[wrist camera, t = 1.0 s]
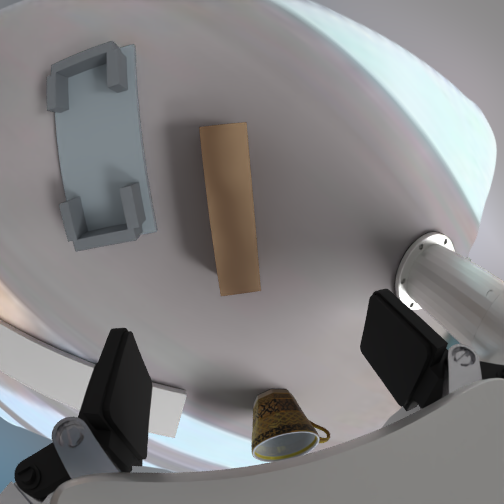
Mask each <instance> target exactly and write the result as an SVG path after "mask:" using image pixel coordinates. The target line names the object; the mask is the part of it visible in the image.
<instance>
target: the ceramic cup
mask: <svg viewBox="0 0 504 504" xmlns="http://www.w3.org/2000/svg"><path fill="white" fill-rule="evenodd" d="M314 427H315V428H317V429H320V430H322V431H324V432H325V433H326V434H327V438H321V437H319V435H318V433H317V431H316V430H315V428H314ZM329 438H330V433H329V431H328V430H326V429H325V428H323V427H321V426H318V425H316V424H314V423H313V422H311V421H309V420H308V419H307V417H306V416H305V415H304V413H303V411H302V410H301V408H300V407H299V405H298V403H297V401H296V400H295V398H294V397H293V395H292V394H291V393H290V392H289V391H288V390H286V389H271V390H268V391H266V392H264V393H262V394H260V395H258V396H257V397H256V400H255V402H254V405H253V432H252V455H253V457H254V458H256V459H258V460H260V461H265V462H275V461H280V460H285V459H289V458H293V457H298V456H301V455H304V454H306V453H308V452H309V451H311V450H312V449H314V448H315V447H316V446H317V444H318V443H324V442H326V441H328V440H329Z"/></svg>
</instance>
